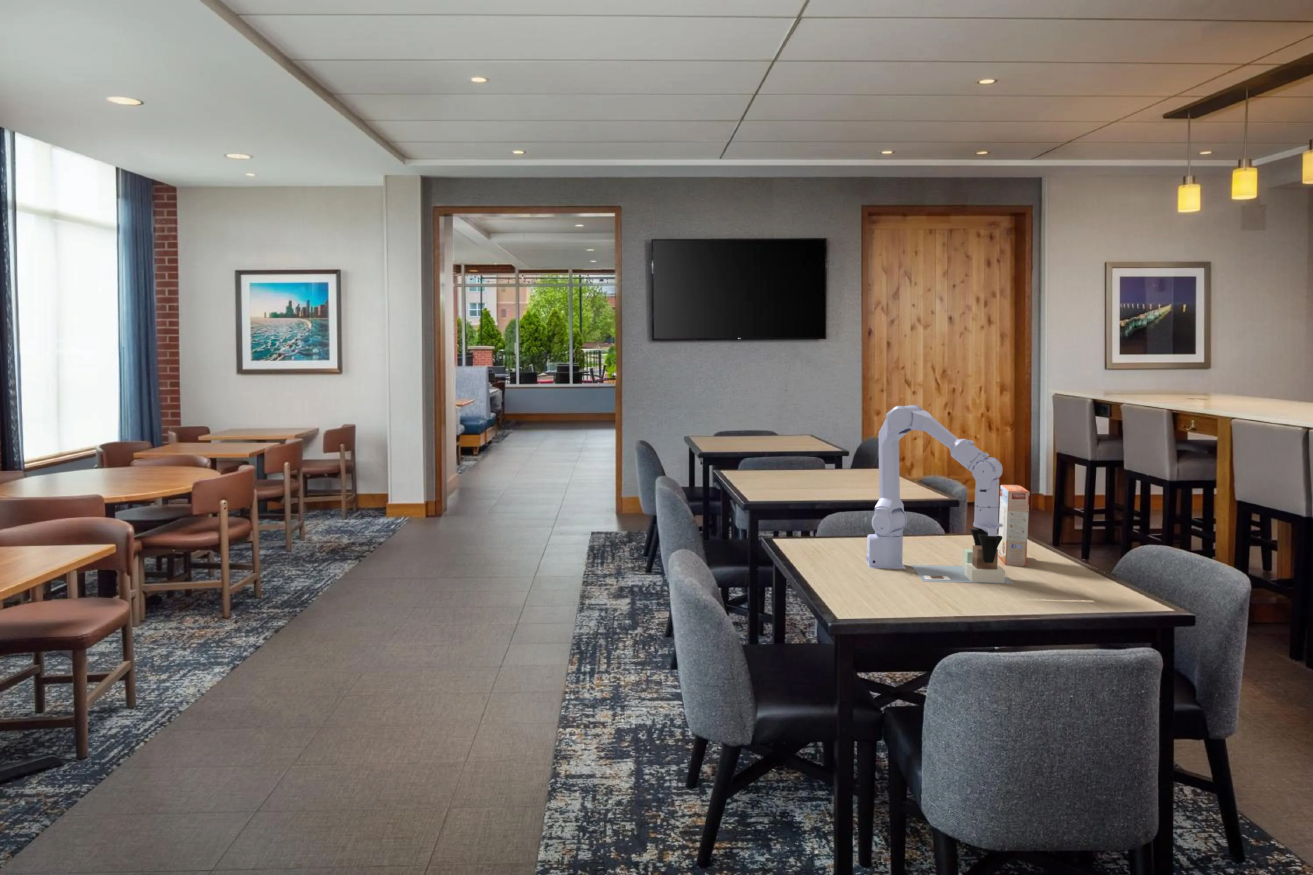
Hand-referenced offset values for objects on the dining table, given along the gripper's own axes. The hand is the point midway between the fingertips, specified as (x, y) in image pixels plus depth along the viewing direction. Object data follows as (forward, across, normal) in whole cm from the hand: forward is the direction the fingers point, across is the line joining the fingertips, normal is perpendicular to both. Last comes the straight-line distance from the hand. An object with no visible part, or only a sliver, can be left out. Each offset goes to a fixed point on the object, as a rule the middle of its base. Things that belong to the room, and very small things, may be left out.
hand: (984, 559), depth 249 cm
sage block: (+5, +11, 0) cm, 12 cm away
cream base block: (+5, 0, 0) cm, 5 cm away
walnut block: (+2, 0, 0) cm, 2 cm away
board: (+5, +5, +5) cm, 9 cm away
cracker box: (+6, +24, -13) cm, 28 cm away
